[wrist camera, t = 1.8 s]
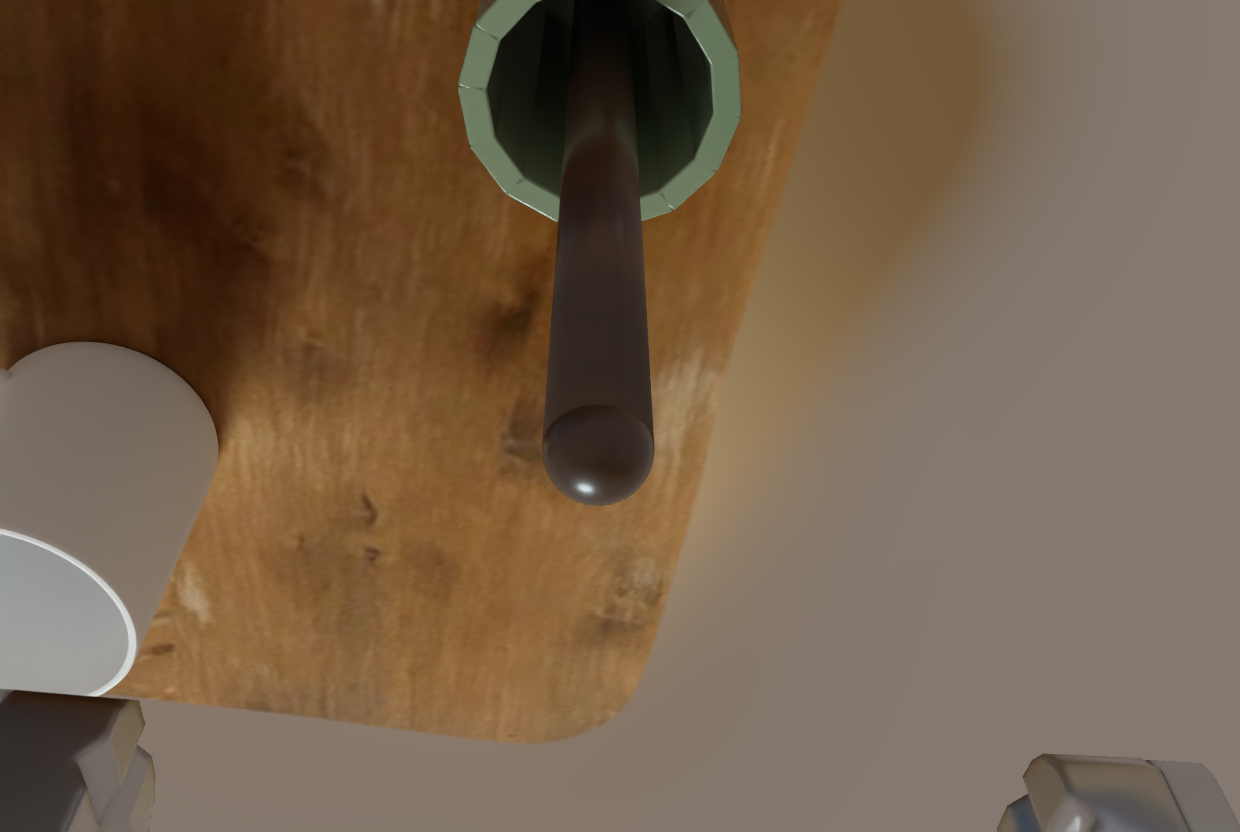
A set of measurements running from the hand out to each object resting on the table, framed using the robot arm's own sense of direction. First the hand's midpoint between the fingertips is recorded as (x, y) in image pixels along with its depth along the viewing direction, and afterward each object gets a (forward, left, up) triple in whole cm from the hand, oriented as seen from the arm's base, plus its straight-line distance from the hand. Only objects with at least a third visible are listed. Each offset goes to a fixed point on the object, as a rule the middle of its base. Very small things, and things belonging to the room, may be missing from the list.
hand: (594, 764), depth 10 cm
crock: (0, 0, -28) cm, 28 cm away
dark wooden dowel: (0, 0, -28) cm, 28 cm away
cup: (+18, -18, -28) cm, 38 cm away
